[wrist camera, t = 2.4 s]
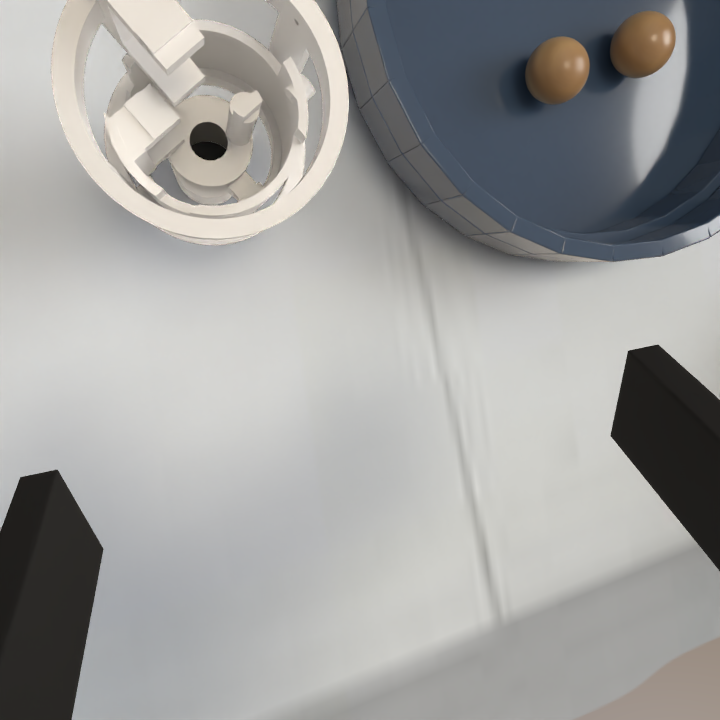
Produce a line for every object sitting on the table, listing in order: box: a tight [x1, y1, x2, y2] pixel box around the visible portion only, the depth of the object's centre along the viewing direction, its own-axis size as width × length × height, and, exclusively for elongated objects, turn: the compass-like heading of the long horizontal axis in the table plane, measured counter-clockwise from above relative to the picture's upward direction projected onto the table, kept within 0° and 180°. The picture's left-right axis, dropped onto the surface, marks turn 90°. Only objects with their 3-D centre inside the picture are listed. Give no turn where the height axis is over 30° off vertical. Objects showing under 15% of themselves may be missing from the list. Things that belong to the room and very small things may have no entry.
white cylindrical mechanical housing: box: [51, 0, 349, 245], centre depth 20 cm, size 7×7×15 cm
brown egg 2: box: [610, 11, 676, 78], centre depth 30 cm, size 3×3×3 cm
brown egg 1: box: [525, 36, 590, 105], centre depth 29 cm, size 3×3×3 cm
